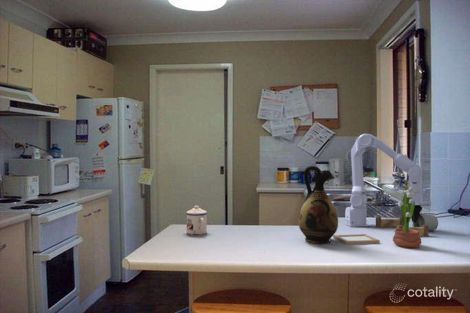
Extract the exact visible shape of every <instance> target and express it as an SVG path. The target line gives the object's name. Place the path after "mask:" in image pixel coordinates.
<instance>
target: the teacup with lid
mask: <svg viewBox="0 0 470 313" xmlns="http://www.w3.org/2000/svg"><path fill="white" fill-rule="evenodd" d="M185 214H186V233H187V235H193V234H199V235H204V234H206V233H207V226H208V225H207V224H208V222H207V215H208V212H207V210H204V209H202V208H200V205H194V207H193V208H191V209H190V210H187V211H186V212H185ZM203 233H204V234H203Z"/></svg>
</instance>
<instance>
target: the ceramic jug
mask: <svg viewBox="0 0 470 313" xmlns="http://www.w3.org/2000/svg"><path fill="white" fill-rule="evenodd" d="M310 172H315V173H316V174H314V176H313V177H312V179H311V182H312V183H315V184H314V187H313V190H312V186H311V184H310V178H309V173H310ZM334 179H335V175H333V173H332V172H331V171H330V170H327V169H324V170H323V171H321V169H320V168H319V167H318V166H316V165H309V166H307V167H306V168H305V169H304V172H303V180H304V183H305V187H306V191H307V193H306V196H305V199H304V203H303V204H302V206H301V209H300V212H299V214H298V215H299V216H298V222H297V223H298V227H299V230H300V231H301V233H302V235H304V236H305V238H304V239H305V241H306V242H308V243H312V244H316V245H317V244H318V245H323V244H330V241H331V238H333V235H336V232H337V231H338V228H339V218H338V213H337V209H336V208H335V205H334V203H333V201H332V200H331V198H330V196H329V194H327V191H326V190H325V187H324V184H325V183H327V182H329V181H330V180H331V181H332V180H334Z"/></svg>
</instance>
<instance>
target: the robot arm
mask: <svg viewBox="0 0 470 313" xmlns="http://www.w3.org/2000/svg"><path fill="white" fill-rule="evenodd" d="M370 148H374V149H379V150H380V151H382V152H383V153H384V154H385V155H387V156H389V157H390V158H391V159H392V160H393V164H394V165H395V166H397V167H398V168H399V169H400V170H402V171H403V172H404V173H407V177H408V180H407V183H410V185H411V186H410V187H412V188H413V191H411V193H412V192H413V193H415V196H412V197H411V199H412V198H413V200H414V201H415V207H414V211H413V215H412V217H411V222H412V223H413V222H414V223H416V222H417V218H418V216H419V214H421V212H422V210H423V207H431V206H432V201H427V200H426V201H425V200H424V201H423V200H422V199H423V196H422V195H423V182H422V180H423V178H422V175H423V169H422V167H421V166H420V165H419V164H417V162H415V161H413V160H412V159H410V158H409V157H408V155H407V154H404V153H398V152H396V151H395V150H394V149H393V148H391V147H390V146H389V145H388V144H386V143H385V142H384V141H383V140H381V139H380V138H378V137H376V136H374V135H373V134H370V133H363V134H360V135H359V136H358V137H357V138H356V140H355V143H354V144H353V146H352V147H351V150H350V158H351V175H352V176H351V177H352V190H351V195H350V199H349V201H350V206H346V208H345V211H344V215H345V217H344V220H345V221H344V224H345V225H347V226H349V227H357V228H358V227H370V226H371V225H370V224H368V223H367V217H368V216H367V212H368V211H367V209H368V208H367V207H368V206H367V205H366V203H367V202H368V196H367V194H366V190H365V187H364V168H363V154H364V152H365V151H367V150H368V149H370ZM408 186H409V184H408ZM400 202H401V201H397V206H398V207H401V205H399V204H400Z"/></svg>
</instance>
